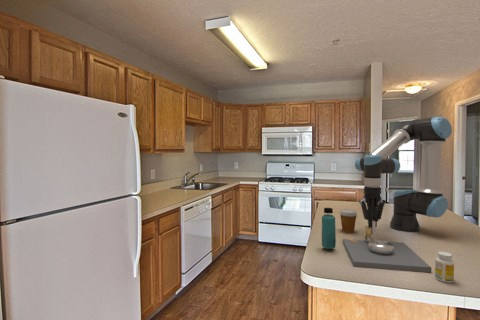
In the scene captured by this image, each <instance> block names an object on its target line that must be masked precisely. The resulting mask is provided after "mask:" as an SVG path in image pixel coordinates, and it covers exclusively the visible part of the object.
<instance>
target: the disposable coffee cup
mask: <svg viewBox="0 0 480 320" xmlns="http://www.w3.org/2000/svg"><path fill="white" fill-rule="evenodd" d="M339 215H340V222H341V223H340V224H341V230H342V232H343V233H346V234H354V233H355V228H356V227H355V226H356V222H357V221H356V220H357V215H358V212H357V211H356V210H354V209H347V208H346V209H340V210H339Z"/></svg>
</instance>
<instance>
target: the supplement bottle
mask: <svg viewBox="0 0 480 320" xmlns="http://www.w3.org/2000/svg"><path fill="white" fill-rule="evenodd" d="M452 259H453V254H452V253H450V252H446V251H438V252H437V257H436V258H435V262H434V264H435V268H434V269H435V272H434V276H435V279H436V280H438V281H440V282H442V283H447V284H450V283H454V281H455V279H454V278H455V262H454V260H452Z"/></svg>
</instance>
